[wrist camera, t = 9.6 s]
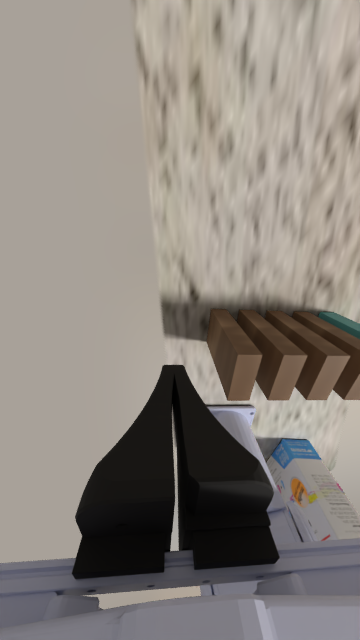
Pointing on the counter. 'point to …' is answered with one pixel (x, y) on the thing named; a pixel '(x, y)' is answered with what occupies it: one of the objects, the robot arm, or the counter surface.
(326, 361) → the domino
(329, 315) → the domino
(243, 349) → the domino
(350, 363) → the domino
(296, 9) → the counter surface
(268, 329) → the domino
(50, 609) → the robot arm
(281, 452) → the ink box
